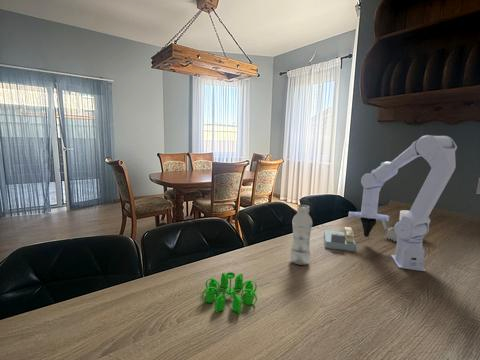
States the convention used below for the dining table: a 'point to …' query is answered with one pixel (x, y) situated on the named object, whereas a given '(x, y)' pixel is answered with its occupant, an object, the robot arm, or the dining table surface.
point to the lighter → (389, 231)
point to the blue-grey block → (337, 241)
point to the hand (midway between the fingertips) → (366, 235)
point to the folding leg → (349, 234)
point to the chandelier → (229, 292)
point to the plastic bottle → (301, 236)
